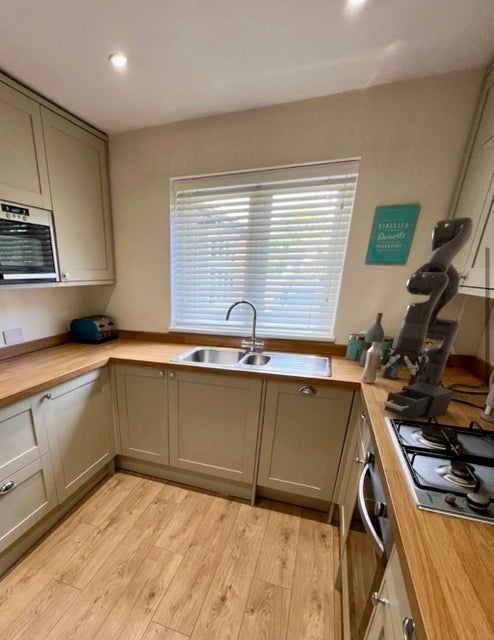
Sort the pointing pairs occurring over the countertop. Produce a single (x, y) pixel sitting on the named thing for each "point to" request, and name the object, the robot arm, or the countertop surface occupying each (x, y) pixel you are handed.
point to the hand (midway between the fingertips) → (398, 381)
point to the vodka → (372, 337)
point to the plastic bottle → (372, 363)
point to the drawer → (407, 404)
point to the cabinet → (433, 397)
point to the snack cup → (395, 369)
